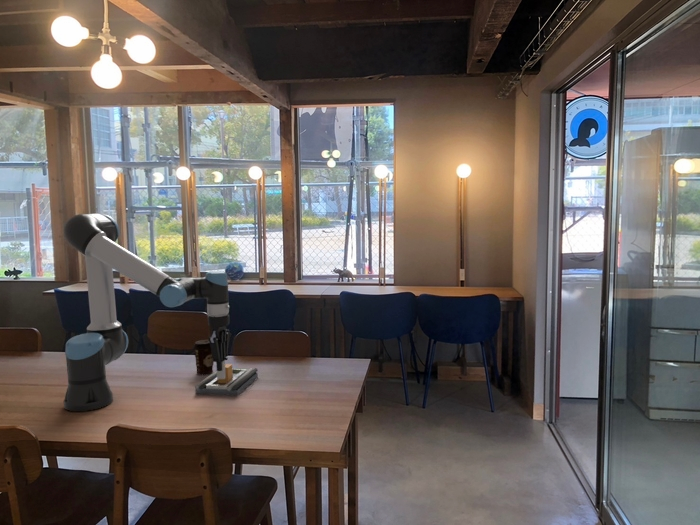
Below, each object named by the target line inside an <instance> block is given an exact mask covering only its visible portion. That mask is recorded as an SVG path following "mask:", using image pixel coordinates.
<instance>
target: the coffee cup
mask: <svg viewBox="0 0 700 525" xmlns="http://www.w3.org/2000/svg"><path fill="white" fill-rule="evenodd" d="M192 349H193V350H194V357H195V365H196V375H198V376H209V375H211V374H212V373H214V372H213V371H214V370H213V368H214V363H215V362H213V358H212V352H211V346H210V342H209V340H208V339H201V340H197V341H196V340H195V342H194V345H193V347H192Z"/></svg>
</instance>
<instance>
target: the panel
mask: <svg viewBox="0 0 700 525" xmlns="http://www.w3.org/2000/svg"><path fill="white" fill-rule="evenodd" d="M232 370H233V378H232V379H231V380H230V381H228V382H227V383H218V379H217V377H216V378H215V379H213V380H212V381H211V382H209V383H208V384H207V385H206V387H205V388H203V389H200V388H198V389H195V388H194V389H195V394H198V395H216V396H218V395H219V396H232V397H233V396H236V397H238V396H240V394H242V393H243V391H245V390H246V389H247V388H248V387H249V386H250V385H251V384H252V383H254V382H255V381H256V380H257V379H258V372H256V373H255V374H253V375H252V376H251V377H250V378H249V379H248V380H247V381H245V382H244V383H243V384H242V385H241V386H240V387H239V388H237V389H236V390H235V391H232V389H231V390H230V391H228V390H227V387H229V386H230V385H231V384H232V383H233V382H235V381H236V380H237V379H238V378H239V377H241V376H242V375H243V374H244V373H245V372H247V371H248V369H245V368H241V369H240V368H232Z"/></svg>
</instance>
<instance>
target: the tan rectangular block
mask: <svg viewBox="0 0 700 525" xmlns="http://www.w3.org/2000/svg"><path fill="white" fill-rule="evenodd" d="M232 369H233V364H229V363H225V373H226V378H225V379H218V383H227V382H228V381H230V380H231V379H232V378H233V370H232Z"/></svg>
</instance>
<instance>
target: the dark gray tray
mask: <svg viewBox="0 0 700 525" xmlns="http://www.w3.org/2000/svg"><path fill="white" fill-rule="evenodd" d="M255 373H258V368H256V367H254V368H253V367H251V368H249V369H247V372H245V373H244V374H243V375H242V376H241V377H239V378H238V379H237V380H236V381H235V382H233V383H232V384H231V385H230V386H229V387H227V390H228V391H230V390H231V389H232V391H235V390H236V389H237V388H239V387H240V386H241V385H242V384H243V383H244V382H245V381H247V380H248V379H249V378H250V377H251V376H252V375H253V374H255ZM216 377H217V369H216V370H215V371H214V372H213V373H211V374H209V375H207V377H206V378H204V379H203V380H202V381H200V382H199V383H197V384H195V386H194V389H198V388H200V389H203V388H205V387H206V385H207V384H208V383H209V382H211V381H212V380H213V379H215V378H216Z"/></svg>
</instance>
